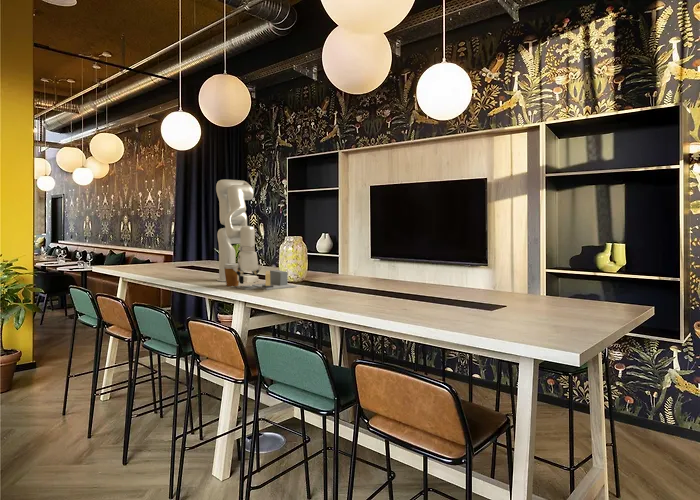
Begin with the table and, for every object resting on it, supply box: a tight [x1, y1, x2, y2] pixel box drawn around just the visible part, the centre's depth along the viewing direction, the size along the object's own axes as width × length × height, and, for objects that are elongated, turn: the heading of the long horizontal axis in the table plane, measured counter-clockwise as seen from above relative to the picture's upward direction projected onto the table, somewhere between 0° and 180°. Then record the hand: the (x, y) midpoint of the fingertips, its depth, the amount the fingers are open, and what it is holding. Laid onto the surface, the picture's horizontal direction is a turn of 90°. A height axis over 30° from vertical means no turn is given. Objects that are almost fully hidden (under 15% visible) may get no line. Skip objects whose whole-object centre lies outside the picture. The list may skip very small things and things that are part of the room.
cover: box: [237, 273, 259, 284], centre depth 247 cm, size 12×6×3 cm, turn 38°
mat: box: [234, 284, 261, 291], centre depth 248 cm, size 13×8×1 cm, turn 38°
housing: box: [251, 269, 297, 291], centre depth 253 cm, size 18×18×8 cm
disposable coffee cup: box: [224, 263, 240, 287], centre depth 255 cm, size 10×10×12 cm
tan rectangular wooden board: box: [264, 270, 270, 286], centre depth 242 cm, size 2×14×7 cm, turn 11°
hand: (247, 282), depth 247 cm, fingers closed on cover, 6 cm apart
